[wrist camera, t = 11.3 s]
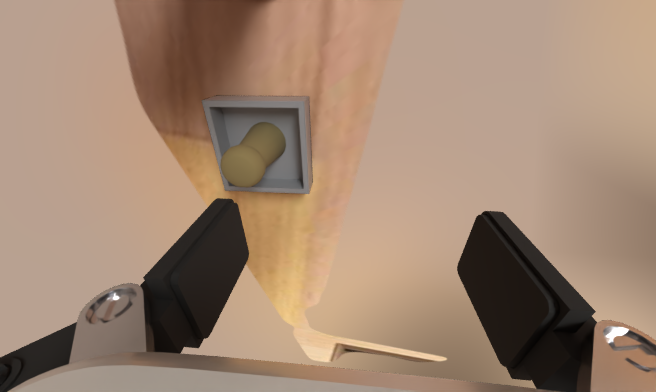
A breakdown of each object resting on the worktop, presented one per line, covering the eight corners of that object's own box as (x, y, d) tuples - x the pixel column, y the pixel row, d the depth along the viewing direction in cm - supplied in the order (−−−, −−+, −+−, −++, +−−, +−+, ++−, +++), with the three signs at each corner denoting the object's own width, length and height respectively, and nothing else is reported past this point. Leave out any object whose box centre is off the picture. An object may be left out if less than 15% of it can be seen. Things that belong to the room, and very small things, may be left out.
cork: (254, 162, 39) (223, 197, 30) (241, 125, 36) (202, 151, 27) (290, 157, 38) (269, 192, 29) (280, 119, 35) (253, 144, 26)
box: (216, 95, 35) (201, 100, 32) (309, 96, 34) (304, 101, 30) (235, 179, 42) (225, 190, 39) (312, 181, 41) (309, 193, 38)
